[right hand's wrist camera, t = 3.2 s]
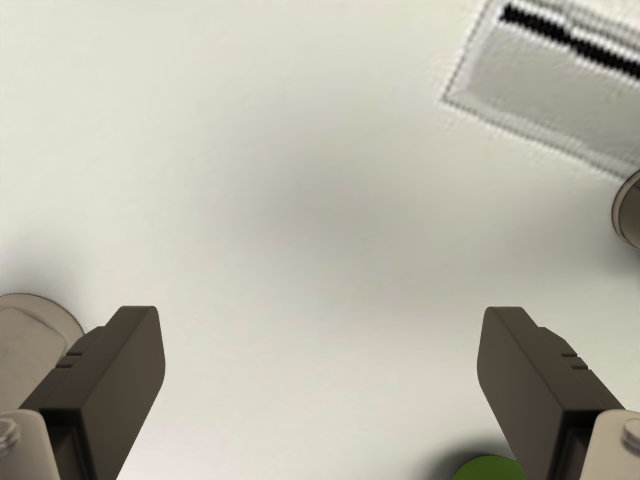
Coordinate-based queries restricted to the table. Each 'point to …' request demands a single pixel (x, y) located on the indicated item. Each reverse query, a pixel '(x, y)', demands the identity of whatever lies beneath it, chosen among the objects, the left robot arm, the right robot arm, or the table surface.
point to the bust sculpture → (30, 344)
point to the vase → (489, 469)
